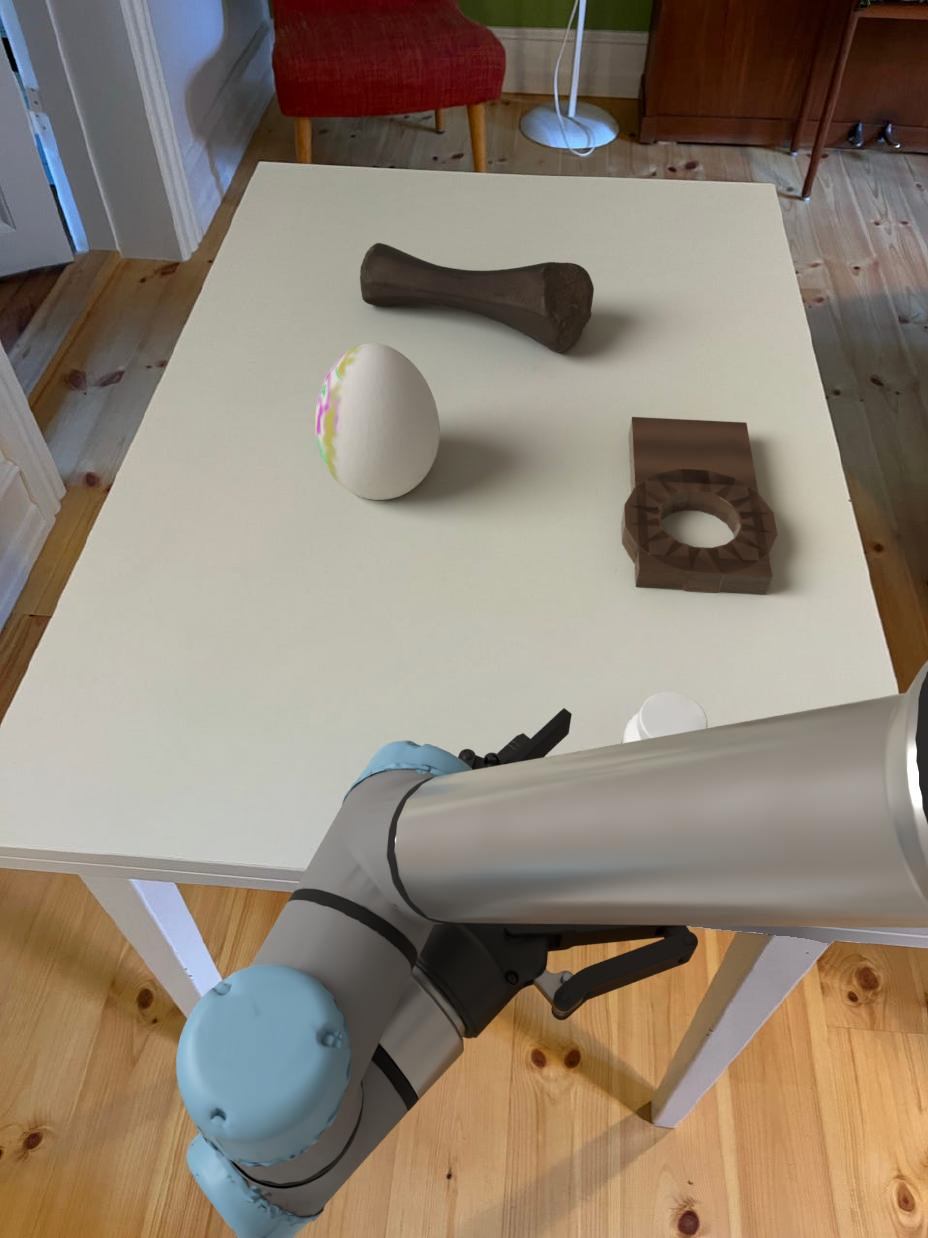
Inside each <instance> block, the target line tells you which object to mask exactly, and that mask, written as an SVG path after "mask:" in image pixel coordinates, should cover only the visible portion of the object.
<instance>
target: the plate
mask: <svg viewBox="0 0 928 1238" xmlns="http://www.w3.org/2000/svg"><path fill="white" fill-rule="evenodd" d="M628 447H629V448H628V449H629V466H630V468H629V469H630V494H629V496H628V498H627V500H626V501H625V503H624V504H623V505H624V506H623V510H622V516H621V521H620V524H621V526H620V527H621V544H622V546H623V548H624V550H625V551H626V553H627V555H628V557H629V558H630V559H631V561H632V563H633V564H634V581H635V582H634V583H635V587H636V588H648V589H650V588H651V589H663V590H666V589H667V590H682V591H685V592H695V593H696V592H697V593H710V594H711V593H714V594H715V593H733V594H747V595H748V594H749V595H765V596H766V595H767V593H768V591H769V588H770V585H771V582H772V580H773V571H772V565H771V558H770V557H771V553H772V550H773V549H774V545H775V542H776V539H777V537H778V529H777V524H776V518H775V513H774V511H773V510H772V508H771V507H770V506H769V505H768V503H767V502H766V501H765V499H764V498H763V497H762V496H761V493H759V488H758V482H757V475H756V470H755V464H754V458H753V453H752V447H751V441H750V435H749V430H748V424H747V422H746V421H745V422H744V421H722V420H703V419H685V418H683V419H682V418H666V417H665V418H664V417H642V416H631V419H630V426H629V431H628ZM682 511H696V512H697V511H700V512H702V513H705V514H709V515H711V516H715V517H716V518H717V519H719V520H720V521H721V522H723V523H725V524H726V525H727V527H728V529H729V530H730V531H731V533H732V534H733V538H732V539H731V540H729V541H728V542H727V543H725V544H722V545H717V546H713V547H705V546H703V547H701V546H693V545H690V544H687V543H684V542H682V541H679V540H678V539H676V538H675V537H674V536H673V535H672V534H670V533H668V531H667V530H666V529H665V526H664V525H663V523H662V520H663V519H664V518H666V517H667V516H669V515H671V514H674V513H678V512H682Z"/></svg>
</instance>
